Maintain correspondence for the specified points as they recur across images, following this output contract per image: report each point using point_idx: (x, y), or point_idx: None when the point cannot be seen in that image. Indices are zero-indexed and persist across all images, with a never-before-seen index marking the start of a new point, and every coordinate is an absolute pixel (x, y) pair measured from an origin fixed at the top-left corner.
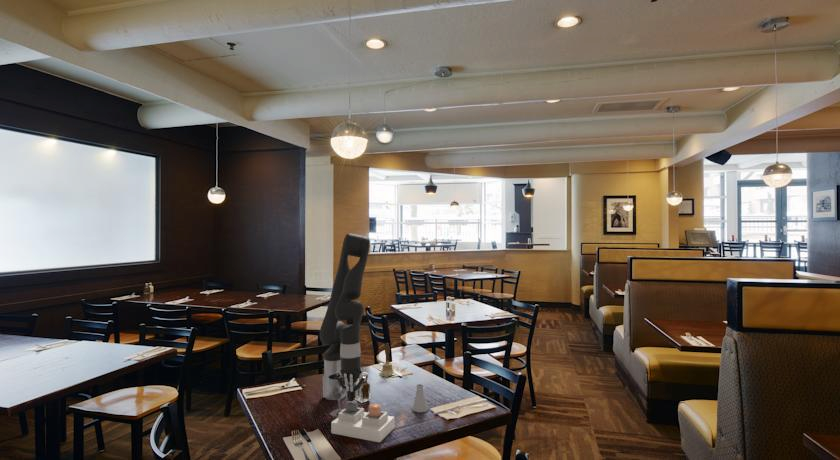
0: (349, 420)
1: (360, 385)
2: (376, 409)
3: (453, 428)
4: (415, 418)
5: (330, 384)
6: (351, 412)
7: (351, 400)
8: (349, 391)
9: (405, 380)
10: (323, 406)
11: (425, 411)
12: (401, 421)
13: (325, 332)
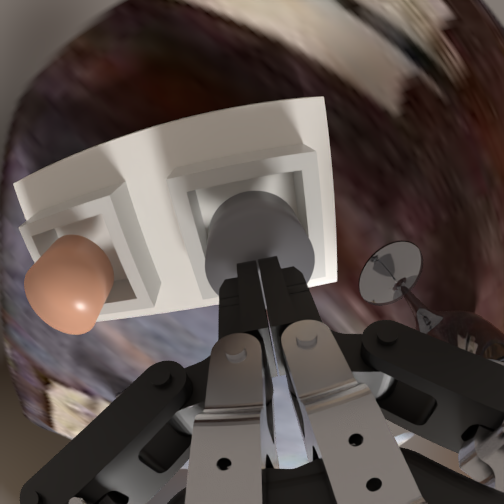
0: (215, 161)
1: (93, 434)
2: (27, 274)
3: (7, 349)
4: (104, 364)
5: (498, 334)
6: (222, 204)
7: (237, 264)
8: (276, 328)
9: (302, 457)
10: (459, 279)
11: (116, 397)
12: (116, 336)
13: None
